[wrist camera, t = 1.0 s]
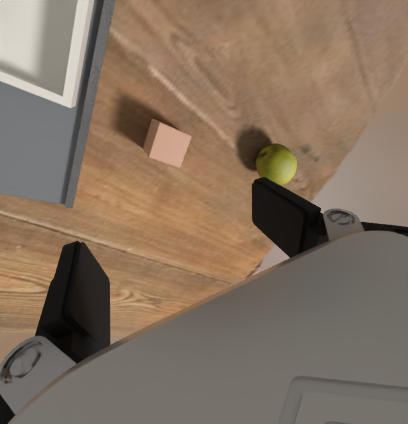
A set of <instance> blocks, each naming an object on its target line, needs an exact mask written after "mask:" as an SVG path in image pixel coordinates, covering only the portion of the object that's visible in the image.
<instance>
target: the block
mask: <svg viewBox="0 0 408 424" xmlns="http://www.w3.org/2000/svg"><path fill="white" fill-rule="evenodd" d="M191 137H192V136H190V135H188V134H186V133H184V132H182V131H180V130H178V129H175V128H173V127H171V126H169V125H166V124H164V123H162V122H160V121H157V120H155V119H153V118H152V120H151V123H150V126H149V130H148V133H147V136H146V140H145V143H144V146H143V149H144V151H145V152H146V154H147V155H148V157H150V158H153V159H156V160H159V161H162V162H165V163H168V164H171V165H174V166H177V167H180V166H181V164H182V161H183V158H184V156H185V153H186V150H187V148H188V145H189V142H190V140H191Z"/></svg>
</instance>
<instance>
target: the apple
mask: <svg viewBox="0 0 408 424" xmlns="http://www.w3.org/2000/svg"><path fill="white" fill-rule="evenodd" d="M296 168H297V160H296V157H295V155H294V154H293V153H292V152H291V151H290V150H289V149H288V148H287V147H285V146H283V145H281V144H271V145H268V146H266V147H264V148H263V149H262V150H261V151H260V152H259V154H258V156H257V159H256V169H257V172H258V174H259V176H260V177H261V178H262V177H266V178H268V179H270V180H271V181H273V182H275V183H277V184H279V185H282V184H285V183H287V182H289V181H290V180H291V178H292V177H293V176H294V174H295V172H296Z"/></svg>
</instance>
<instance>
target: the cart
mask: <svg viewBox="0 0 408 424" xmlns="http://www.w3.org/2000/svg"><path fill="white" fill-rule="evenodd" d="M93 5H94V0H0V81H1V82H4V83H7V84H9V85H12V86H14V87H17V88H20V89H22V90H25V91H27V92H30V93H32V94H35V95H38V96H40V97H43V98H45V99H48V100H51V101H53V102H56V103H58V104H61V105H63V106H66V107H69V108H72V107H75V106H76V100H77V95H78V89H79V83H80V78H81V72H82V67H83V61H84V55H85V50H86V44H87V38H88V33H89V27H90V22H91V16H92V10H93Z"/></svg>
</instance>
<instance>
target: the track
mask: <svg viewBox="0 0 408 424" xmlns="http://www.w3.org/2000/svg"><path fill="white" fill-rule="evenodd" d="M114 5H115V0H94V5H93V10H92V16H91V22H90V27H89V33H88V38H87V44H86V50H85V55H84V61H83V67H82V72H81V78H80V83H79V89H78V95H77V100H76V106H75V107H72V108H69V107H66V106H63V105H61V104H58V103H56V102H53V101H51V100H48V99H45V98H43V97H40V96H38V95H35V94H32V93H30V92H27V91H25V90H22V89H20V88H17V87H14V86H12V85H9V84H7V83H4V82H1V81H0V194H5V195H10V196H16V197H22V198H28V199H34V200H40V201H46V202H52V203H58V204H64V205H65V207H67V208H72V207H73V204H74V199H75V194H76V189H77V184H78V179H79V175H80V170H81V165H82V160H83V155H84V150H85V146H86V141H87V136H88V131H89V126H90V121H91V116H92V112H93V107H94V102H95V97H96V92H97V87H98V83H99V78H100V73H101V68H102V63H103V58H104V53H105V49H106V44H107V39H108V34H109V29H110V24H111V19H112V15H113V10H114Z"/></svg>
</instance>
